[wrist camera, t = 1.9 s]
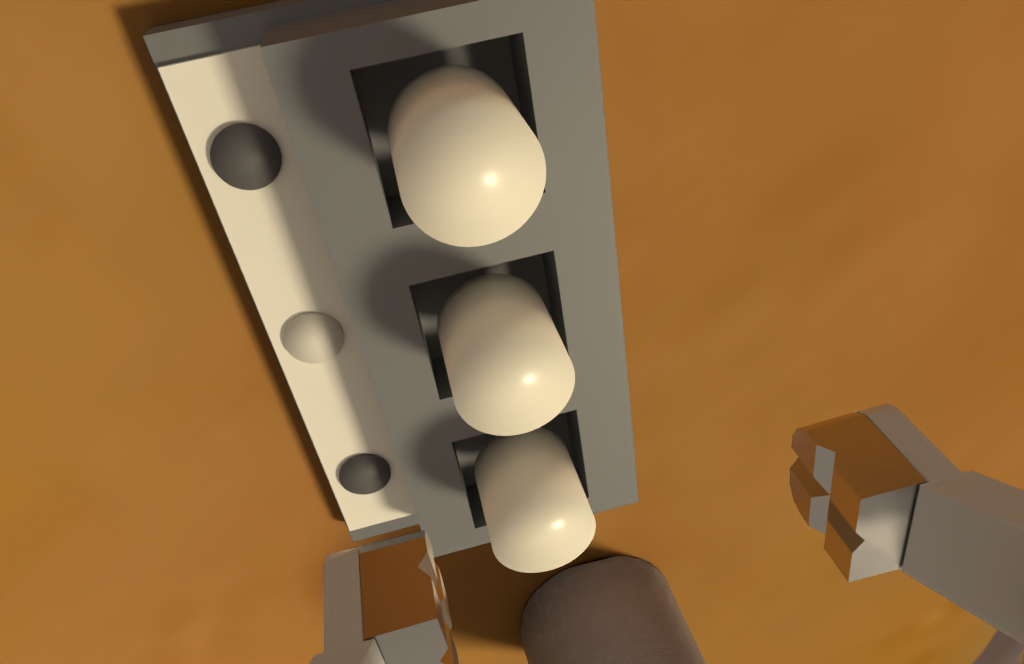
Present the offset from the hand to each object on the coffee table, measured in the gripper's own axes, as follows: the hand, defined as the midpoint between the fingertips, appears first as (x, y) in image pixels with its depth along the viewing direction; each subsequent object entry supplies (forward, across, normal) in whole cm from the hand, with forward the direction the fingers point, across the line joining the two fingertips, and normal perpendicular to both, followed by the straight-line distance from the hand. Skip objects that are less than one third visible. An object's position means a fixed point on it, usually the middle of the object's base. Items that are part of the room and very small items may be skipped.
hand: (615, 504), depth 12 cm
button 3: (+18, 0, +16) cm, 24 cm away
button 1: (+18, 0, 0) cm, 18 cm away
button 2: (+18, 0, +8) cm, 19 cm away
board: (+21, +1, +8) cm, 23 cm away
